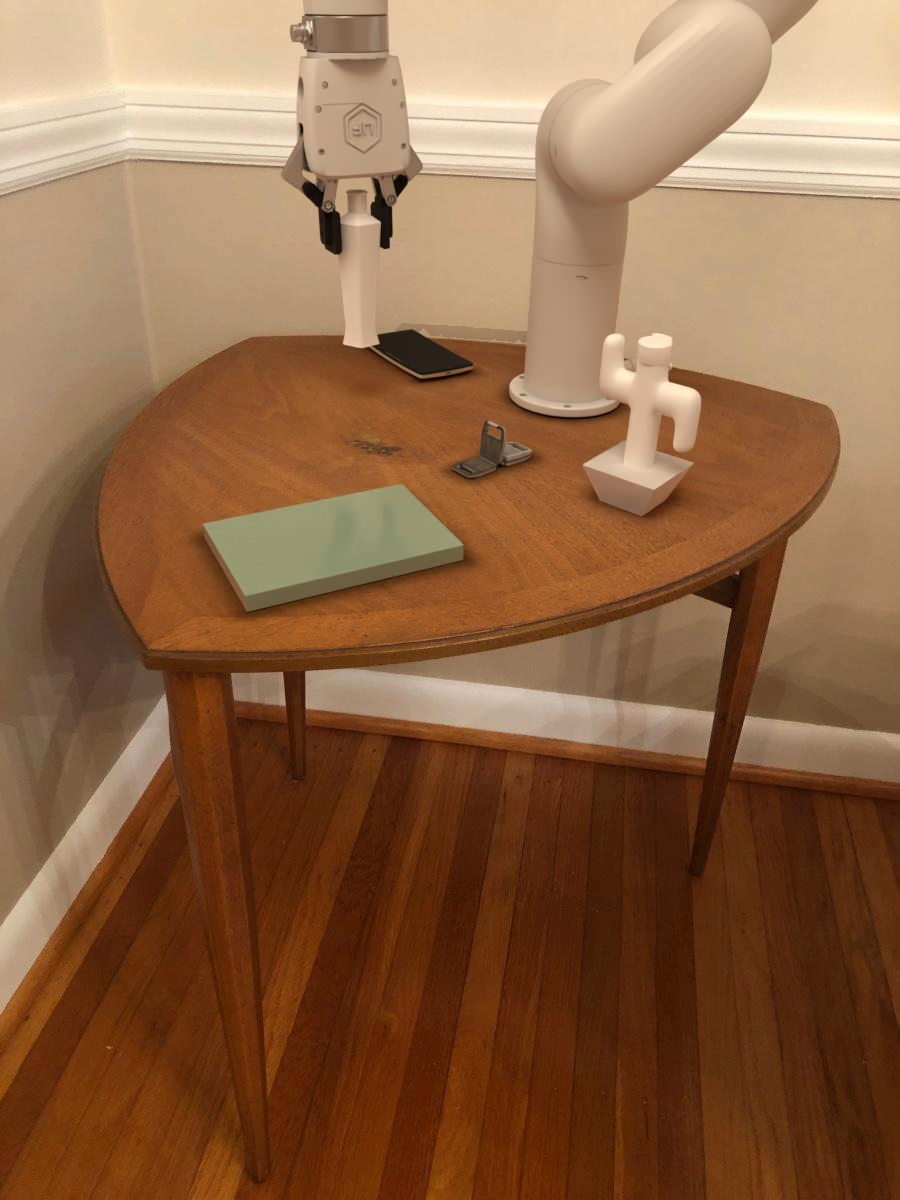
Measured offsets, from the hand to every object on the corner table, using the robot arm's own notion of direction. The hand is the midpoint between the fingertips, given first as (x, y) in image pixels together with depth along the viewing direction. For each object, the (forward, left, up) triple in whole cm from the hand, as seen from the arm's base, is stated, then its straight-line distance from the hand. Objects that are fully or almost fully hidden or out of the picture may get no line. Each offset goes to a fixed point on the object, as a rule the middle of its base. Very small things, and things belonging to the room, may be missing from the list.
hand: (357, 246), depth 95 cm
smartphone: (-12, -10, -17) cm, 23 cm away
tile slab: (+14, +29, -16) cm, 36 cm away
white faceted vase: (0, 0, -10) cm, 10 cm away
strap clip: (-6, +20, -17) cm, 27 cm away
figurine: (-14, +32, -17) cm, 38 cm away
